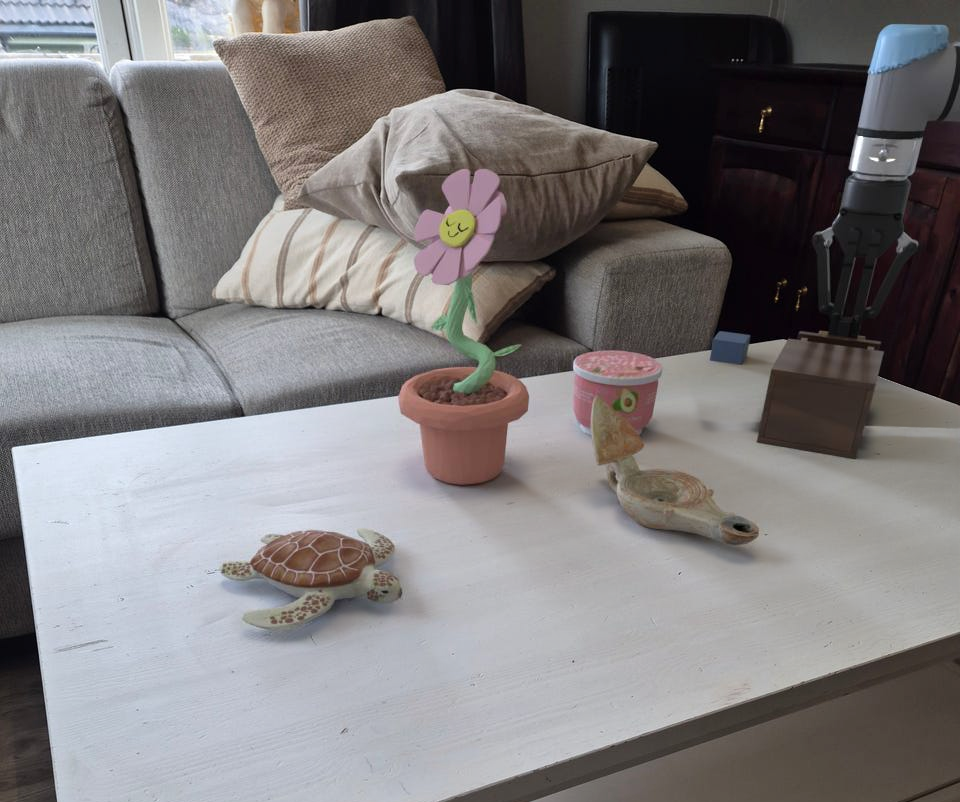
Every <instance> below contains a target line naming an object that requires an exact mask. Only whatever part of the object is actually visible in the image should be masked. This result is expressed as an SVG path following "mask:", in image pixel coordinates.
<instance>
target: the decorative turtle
mask: <svg viewBox="0 0 960 802" xmlns="http://www.w3.org/2000/svg"><path fill="white" fill-rule="evenodd" d="M356 533H357V536H359V537H360V538H362V539H363V540H359V539H356V538H354V537H350V536H348V535H345V534H343V533H339V532H335V531H325V530H319V529H307V530H305V531H304V530H303V531H302V530H298V531H294V532H290V533H288V534H285V535H284V534H278V533H269V534H266V535H264V536H262V537H260V542H261V543H264V544H265V545H263V546H261V548H259V550H258V551H257V552H256V553H255V555H254V556H252V558H251V559H250V560H228V561H227V560H226V561H224V562H223V563H221V564H220V566H219V571H220V574H221V575H222V576H223V577H225V578H227V579H229V580H232V581H236V582H245V581H252V580H259V579H260V580H264V581H266V582H267V583H268V584H270V586H273V587H274V588H277V589H279V590H281V591H283V592H285V593H287V594H288V595H291V596H293V597H296V598H298V599H295V600H294V601H293V602H290V603H287V604H285V605H282V606H278V607H270V608H260V609H252V610H247V611H245V612H244V613H243V616H242V617H241V618H240V619H241V620H242V621H243V622H244V623H245V624H249V625H251V626H254V627H256V628H260V629H263V630H268V631H286V630H290V629H291V630H292V629H293V628H298V627H301V626H304V625H305V624H307V623H309V622H311V621H313V620H315V619H317V618H319V617H320V616H322V615H323V614H325V613H327V612H328V611H329V610H331V608H332V607H333V605H334V603H335V601H338V600H343V599H351V598H352V599H353V598H356V597H357V598H358V597H363V598H365V599H366V600H369V601H371V602H374V603H379V604H388V603H394V602H397V601H398V600H399V599H401V598H402V595H403V588H402V586H401V582H400V578H399V576H397V575H396V574H394V573H391V572H388V571H386V570H381V569H377V568H380V567H382V566H384V565H385V564H386V563H387V562H388V561H390V559H391V558H392V556H393V555H394V554H395V550H396V547H395V545H394V543H393V542H392V540H391V539H389V538H388V537H387V536H385V535H383V534H381V533H379V532H377V531H374V530H372V529H369V528H365V527H364V528H363V527H360V528H357V529H356Z"/></svg>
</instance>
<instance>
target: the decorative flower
mask: <svg viewBox="0 0 960 802" xmlns="http://www.w3.org/2000/svg"><path fill="white" fill-rule="evenodd" d="M500 184H501V178H500V177H499V174H497V173H496V172H494V171H492V170H490V169H488V168H478V169H477V170H476V171H474V175H473V181H472V183H471V170H470V169H468V168H462V169H459V170H457V171H455V172H453V173H451V174H450V175H449V176H447V177H446V178H445V179H444V181H443V183H442V184H441V190H442V192H443V194H444V196H445V198H446V200H447V203H448V204H449V206H448V207H447V208H446V210H445V212H444V213H441V212H438V211H434V210H431V209H425V210H423V211H422V213H421V214H420V215H419V217H418V220H417V222H416V225H415V227H414V234H413V237H414V240H415V242H416V243H421V242H425V241H427V240H430V239H431V240H430V242H429V244H428V246H426V247H425V248H423V249H421V250H420V251H419V252H417V254H416V255H415V256H414V257H413V265H414V269H415V270H416V272H417V273H418V274H419V275H420V276H423V277H428V276H430V275H432V276H431V279H430V280H431V282H432V283H433V284H435V285H439V286H450V285H451V284H454V283H455V284H454V288H453V293H452V296H451V300H450V303H449V308H448V312H447V313H446V314H443V315H441V316H439V317H438V318H436V320H435V321H434V322H433V323H432V325H431V329H432V330H434V331H436V332H438V331H440V332H442V331H445V335H446V338H447V339H448V341H449V344H450V346H451V347H453V348H454V349H456V350H457V351H458V352H460V353H461V354H462V355H463V356H465V357H468V358H470V359H473V360H476V361H478V365H477V367H475V366H458V367H457V366H455V367H454V366H453V367H451V366H450V367H444V368H443V367H442V368H436V369H432V370H429V371H426V372H422V373H420V374H416V375H415V376H412V377H411V378H410V379H408V380H406V381H405V382H404V384H402V386H401V389H400V391H399V393H398V397H397V400H398V406H399V412H400V414H401V415H403V417H406V418H407V419H409V420H410V421H412V422H414V423H415V424H418V425H419V429H420V437H421V438H420V439H421V446H422V455H423V462H424V463H423V464H424V466H425V468H426V471H427V473H428V474H429V475H431V477H432V478H434V479H436V480H438V481H441V482H443V483H445V484H452V485H458V486H466V485H475V484H482V483H485V482H489V481H491V480H493V479H495V478H496V477H498V475H499V474H500V473H501V472H502V471H503V468H504V464H505V460H506V449H507V438H508V430H509V423H512V422H515V421H518V420H520V418H522V417H523V416H524V415H525V414H526V413H528V411H529V403H530V394H529V392H528V389H527V386H526V385H525V384H524V383H523V382H522V380H520V379H518V377H515V376H514V375H512V374H508V373H506V372H504V371H503V372H502V371H499V370H496V368H497V367H496V357H503V356H504V357H505V356H506V355H509V354H511V353H513V352H515V351H517V349H519V348H520V347H522V344H514V345H513V344H512V345H509V346H507V347H504V348H501V349H499V350H497V351H495V352H494V351H492V349H490V348H489V347H488V346H487V345H486V344H484V343H481V342H478V341H476V340H474V339H473V338H471V337H469V336H467V335H466V334H465V333H464V330H463V323H464V321H465V320H464V319H465V315H466V312H467V309H468V312H469V315H470V317H471V319H472V321H473V322H474V323H475V325H476V324H478V320H477V319H478V318H477V310H476V303H475V296H474V294H473V292H472V287H473V275H474V272H475V270H477V268H478V267H479V264H480V263H481V262H482V261H483V259H485V258H486V257H487V255H488V254H489V252H490V250H491V248H492V246H493V243H494V241H495V237H496V235H495V234H496V233H497V231H498V230H499V228H500V225H501V221H502V217H503V216H504V215H505V214H507V210H508V208H507V207H508V204H507V201H506V198H505V195H504V193H502V191H499V190H498V188H499V186H500ZM497 190H498V191H497Z"/></svg>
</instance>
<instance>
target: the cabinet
mask: <svg viewBox="0 0 960 802" xmlns="http://www.w3.org/2000/svg"><path fill="white" fill-rule="evenodd" d="M884 354H885V351H883V350H879V351H877V350H869V349H862V348H855V347H847V346H840V345H832V344H825V343H817V342H810V341H802V340H797V339H793V338H787V340H786V342H785V343H784V346H783V347H782V349H781V351H780V353H779V355H778V356H777V358H776V360H775V361H774V363H773V365H772V367H771V369H770V372H769V373H770V374H769V377H768V383H767V388H766V392H765V397H764V402H763V408H762V414H761V418H760V423H759V428H758V434H757V438H756V443H761V444H767V445H773V446H777V447H785V448H789V449H795V450H801V451H807V452H814V453H818V454H819V453H820V454H823V455H824V454H825V455H830V456H837V457H843V458H848V459H853V460H855V459H857V456H858V452H859V448H860V445H861V440H862V437H863V433H864V429H865V426H866V422H867V418H868V416H869V415H868V414H869V412H870V409H871V408H870V407H871V403H872V400H873V396H874V392H875V388H876V385H877V381H878V376H879V373H880V369H881V365H882V361H883V357H884Z"/></svg>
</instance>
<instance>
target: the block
mask: <svg viewBox="0 0 960 802" xmlns="http://www.w3.org/2000/svg"><path fill="white" fill-rule="evenodd" d="M750 341H751V335H750V334H744V333H737V332H730V331H724V330H723V331H722V330H719V331H718V332H717V334H716V335H715V336H714V338H713V339H712V342H711V343H712V344H711V349H710V356H709V361H711V362H717V363H725V364H732V365H738V366H741V365H743V363H744V362H745V360H746V358H747V356H748V352H749V346H750Z"/></svg>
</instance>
